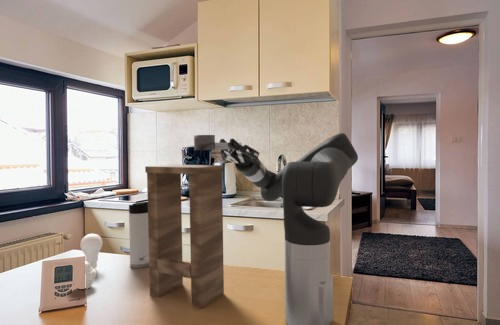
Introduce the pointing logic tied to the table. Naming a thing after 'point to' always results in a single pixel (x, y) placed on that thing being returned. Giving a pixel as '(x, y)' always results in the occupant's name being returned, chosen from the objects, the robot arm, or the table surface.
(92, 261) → the lightbulb
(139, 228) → the travel mug
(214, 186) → the shelf
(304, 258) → the robot arm
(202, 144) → the steel link
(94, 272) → the white ridged dome
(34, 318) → the table surface
